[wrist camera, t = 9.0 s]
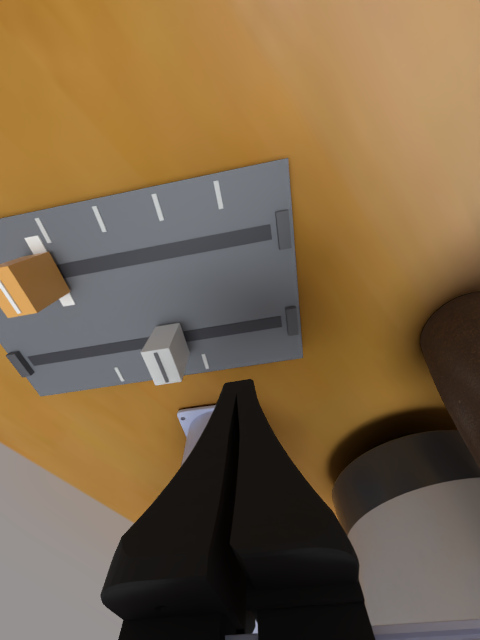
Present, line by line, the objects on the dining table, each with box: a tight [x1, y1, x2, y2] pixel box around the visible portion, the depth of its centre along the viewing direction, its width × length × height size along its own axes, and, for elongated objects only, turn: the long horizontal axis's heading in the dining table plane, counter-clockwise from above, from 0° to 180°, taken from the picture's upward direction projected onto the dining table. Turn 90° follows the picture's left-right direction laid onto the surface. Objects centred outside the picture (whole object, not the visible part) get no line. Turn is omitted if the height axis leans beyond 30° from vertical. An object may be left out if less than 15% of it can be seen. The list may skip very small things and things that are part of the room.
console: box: [0, 158, 303, 396], centre depth 20 cm, size 15×25×2 cm, turn 100°
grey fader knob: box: [140, 323, 190, 385], centre depth 19 cm, size 3×2×4 cm, turn 10°
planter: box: [332, 430, 480, 626], centre depth 24 cm, size 19×19×18 cm
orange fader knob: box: [0, 252, 70, 318], centre depth 16 cm, size 3×2×4 cm, turn 10°
